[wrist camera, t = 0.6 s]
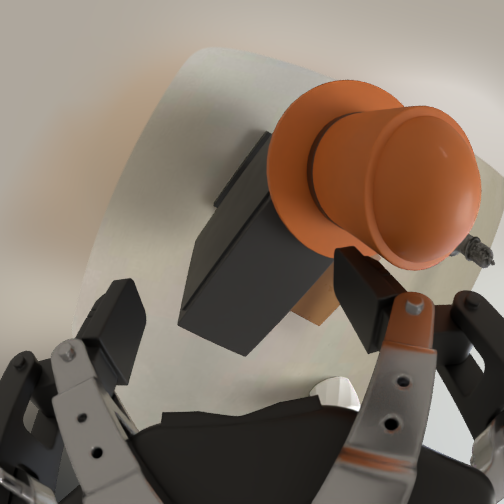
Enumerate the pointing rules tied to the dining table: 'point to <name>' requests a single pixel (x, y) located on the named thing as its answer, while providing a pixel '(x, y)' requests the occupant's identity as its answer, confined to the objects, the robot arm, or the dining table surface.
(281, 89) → the dining table surface
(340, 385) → the vase
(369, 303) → the robot arm
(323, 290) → the stand
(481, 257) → the chess piece
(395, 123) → the hat
